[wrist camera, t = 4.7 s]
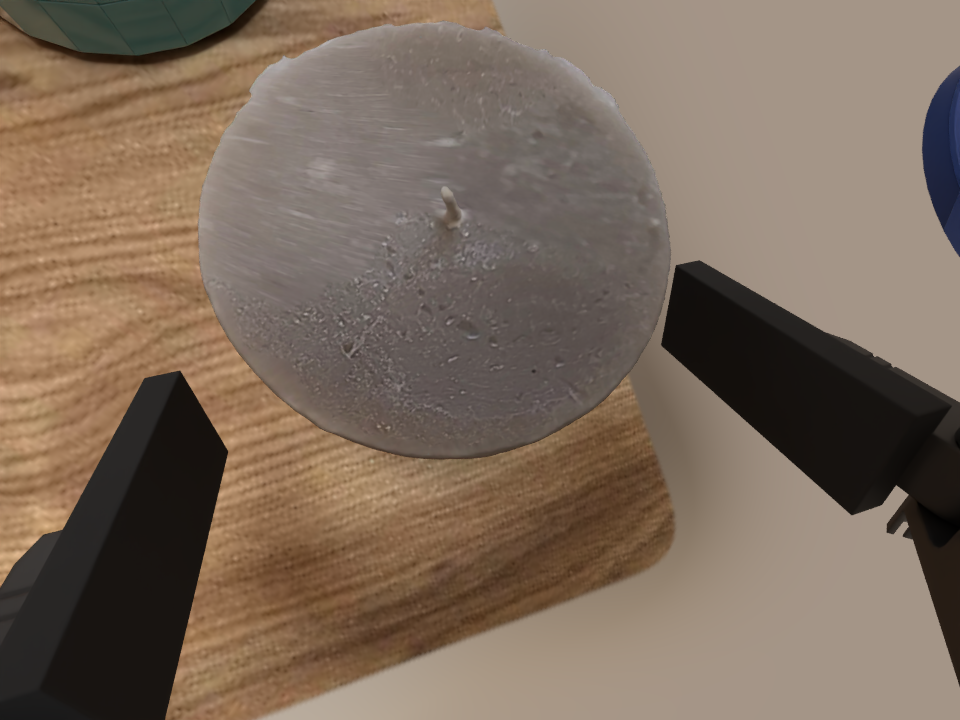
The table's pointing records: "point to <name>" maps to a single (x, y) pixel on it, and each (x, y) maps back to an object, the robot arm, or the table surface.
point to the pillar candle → (434, 240)
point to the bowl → (122, 22)
